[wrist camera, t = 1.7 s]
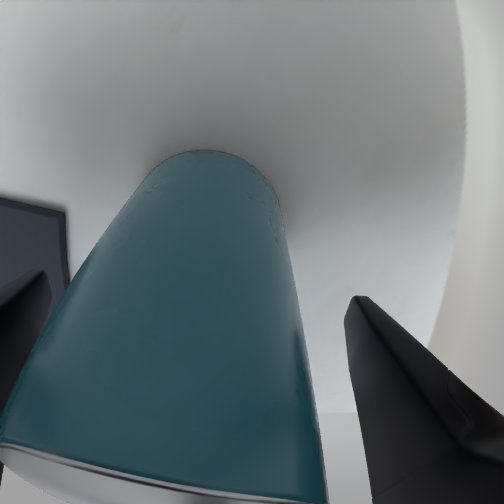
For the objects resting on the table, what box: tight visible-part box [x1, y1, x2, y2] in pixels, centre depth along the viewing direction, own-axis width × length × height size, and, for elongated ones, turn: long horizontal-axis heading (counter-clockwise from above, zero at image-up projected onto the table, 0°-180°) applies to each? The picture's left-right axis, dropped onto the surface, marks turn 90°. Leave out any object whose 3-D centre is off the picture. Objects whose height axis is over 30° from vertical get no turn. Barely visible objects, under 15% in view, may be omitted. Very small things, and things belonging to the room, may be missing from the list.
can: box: [0, 150, 329, 504], centre depth 8 cm, size 6×6×10 cm
